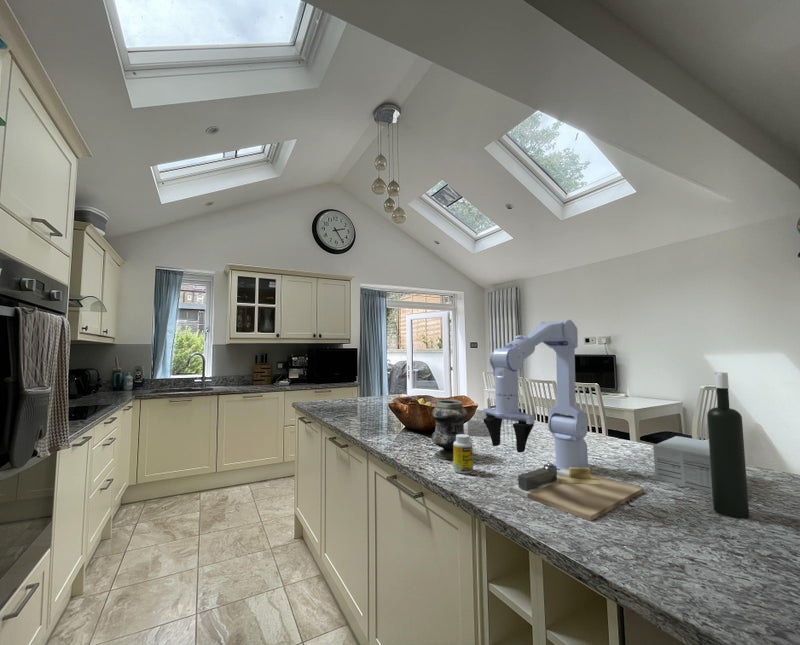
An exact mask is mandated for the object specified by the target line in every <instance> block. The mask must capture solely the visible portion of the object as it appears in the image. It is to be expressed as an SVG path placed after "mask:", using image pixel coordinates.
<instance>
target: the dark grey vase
mask: <svg viewBox="0 0 800 645" xmlns="http://www.w3.org/2000/svg"><path fill="white" fill-rule="evenodd" d="M431 415H432V417H433V418H434V419H435V430H434V432H433V433H432V434H431V441H432V443H433V444H434V445H435V446H438V447H439V448H441V449H440V450H438V451H436V452H435V453H434V457H436V458H439V459H441V460H453V461H454V459H453V443H454V442H455V441H456V435H458V434H466V433H465V430H464V428H465V426H464V423H465V422H464V421H465V419H467V416H468V411H467V410H466V408H464V406H463V402H462V400H461V401H460V400H455V399H439V400H437V401H436V406H435V407H434V408H433V409H432V411H431Z"/></svg>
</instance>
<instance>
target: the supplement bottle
mask: <svg viewBox="0 0 800 645" xmlns="http://www.w3.org/2000/svg"><path fill="white" fill-rule="evenodd" d="M470 438H471V437H470V435H469V434H466V433H465V434H458V435H456V441H455V442H454V443H453V459H454V460H453V471H454V472H455V473H458V474H463V475H464V474H470V473H473V470H474V462H473V461H474V460H473V455H474V454H473V443H472V442H471V441H470V440H471V439H470Z"/></svg>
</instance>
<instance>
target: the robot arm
mask: <svg viewBox="0 0 800 645" xmlns="http://www.w3.org/2000/svg"><path fill="white" fill-rule="evenodd" d="M578 331H579V330H578V327H577V325H576V324H575V322H574V321H573V320H572V319H567V320H555V321H540V322H539V323H538V324H536V326H535V329H533V330H532V331H530V333H529V334H527V335H522V334H521V335H519V334H518V335H516V336H515V337H514V340H512V341H511V342H506V344H505V346H503V347H499V348H495V349H494V350H493V351H492V353H491V355H490V358H489V364H490V366H491V368H492V374H493V376H494V383H495V384H494V385H495V386H494V387H495V388H494V389H495V390H494V391H495V392H494V393H495V394H494V395H495V408H489V407H487V408H482V411H483V412H482V415H483V417H484V418H483V423H484V424H485V426H486V428H487V431H488V433H489V437H490V440H491V443H492V446H493V447H497V446H500V445H501V430H502V423H503V420H507V421H513V422H515V423H512V427H513V430H514V434H515V443H516V451H517V453H524V452H525V450H526V446H527V442H528V438H529V436H530V433H531V432H532V429H533V428H534V424H535V423H536V422H535V415H533V414H528V413H525V412H521V411H520V404H519V402H520V400H519V374H518V372H519V370H520V369H521V368H522V367H523V363H524V361H525V360H526V359H527V358H528V357H530V356H531V355H532V354H534V352H535V351H536V346H538V345H539V344H542V343H543V344H544V345H545V346H547V347H548V348H550V349H553V350H554V352H555V353H556V358H555V360H556V365H555V366H556V404H555V405H554V406H553V407H551V408H550V409H549V416H548V419H547V428H548V430H549V432H550V433H551V434H552V437H554V452H555V454H554V455H555V463H552V464H553V465H555V466H557V470H561V469H564V468H569V467H582V468H589V469H591V468H592V465H589V460H588V458H589V457H588V453H589V452H588V444H587V442H586V441H585V439H584V438H585V437H586V436H587V434H588V428H589V427H588V421H587V418H586V417H587V416H586V413H585V411H584V410H583V409H581V408H580V407H579V406H578V405H577V403H576V357H575V349H576V348H577V349H578V347H579V346H578V345H579V344H578V343H579V342H578V341H579V340H578V339H579V337H578Z"/></svg>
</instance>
